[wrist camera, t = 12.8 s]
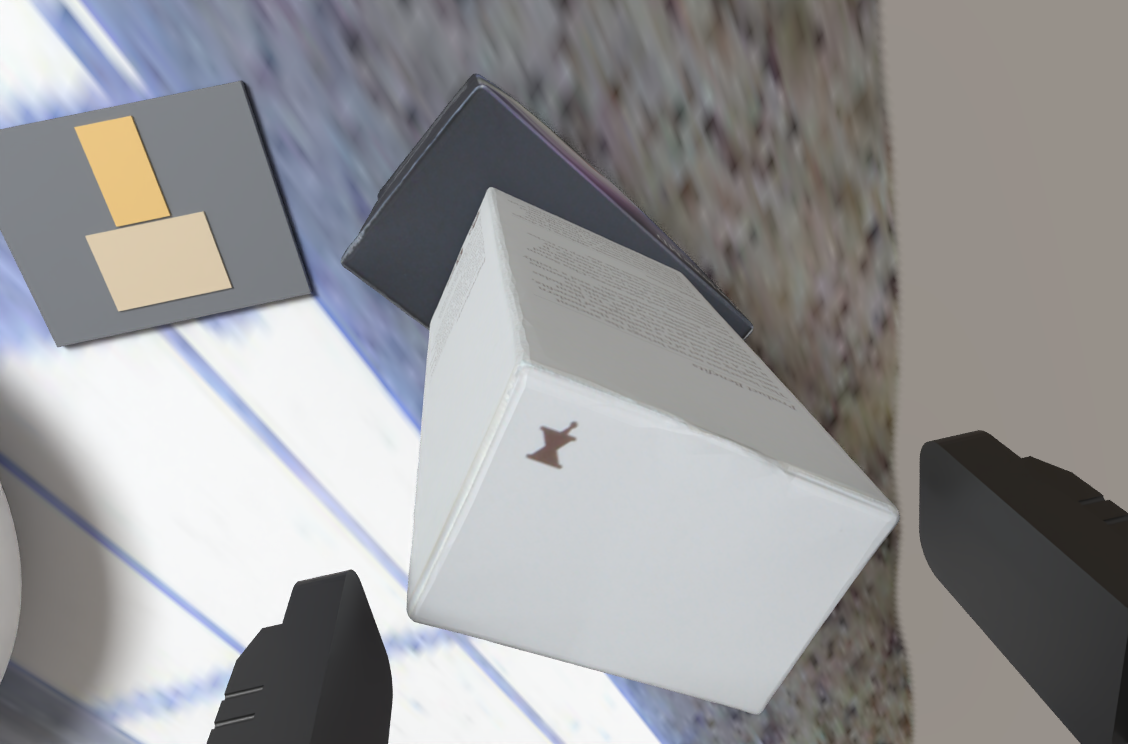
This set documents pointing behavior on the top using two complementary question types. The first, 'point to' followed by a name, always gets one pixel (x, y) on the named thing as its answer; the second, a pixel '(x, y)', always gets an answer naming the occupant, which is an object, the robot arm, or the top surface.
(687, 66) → the top surface
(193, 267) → the card
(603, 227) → the small box
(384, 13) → the top surface
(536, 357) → the skincare box
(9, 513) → the bowl
